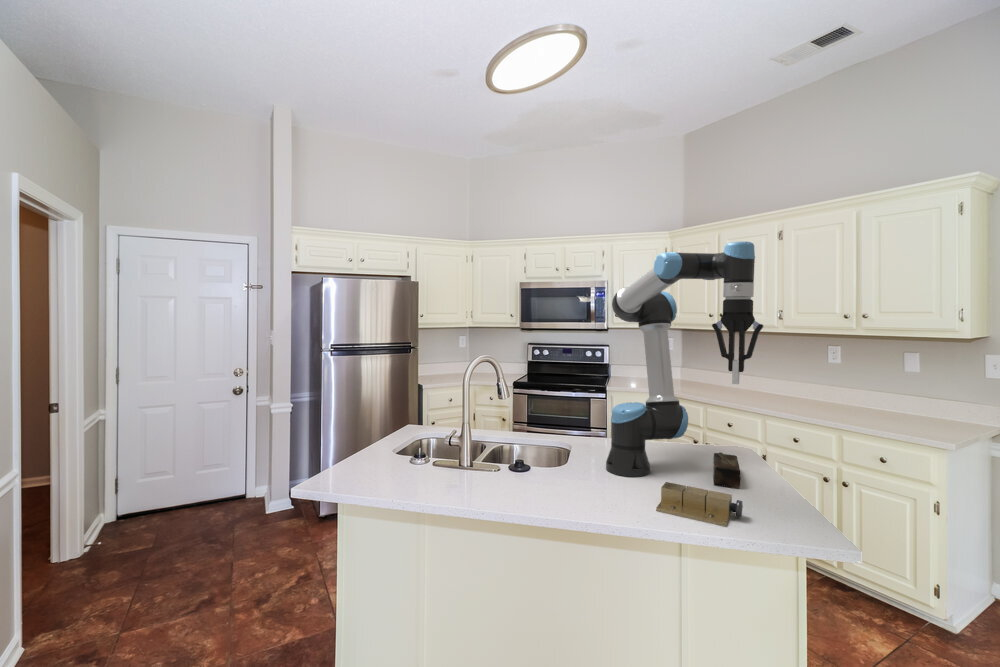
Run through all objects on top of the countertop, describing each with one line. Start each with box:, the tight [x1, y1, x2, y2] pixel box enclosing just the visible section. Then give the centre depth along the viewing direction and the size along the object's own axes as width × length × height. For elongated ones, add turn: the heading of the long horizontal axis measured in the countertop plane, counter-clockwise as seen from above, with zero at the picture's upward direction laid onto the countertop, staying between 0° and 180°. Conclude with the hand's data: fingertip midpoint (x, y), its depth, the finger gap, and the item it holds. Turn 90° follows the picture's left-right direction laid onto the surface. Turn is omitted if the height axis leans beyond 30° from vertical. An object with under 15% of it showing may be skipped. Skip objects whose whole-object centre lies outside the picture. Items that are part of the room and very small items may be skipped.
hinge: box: [655, 481, 733, 527], centre depth 138 cm, size 18×15×5 cm
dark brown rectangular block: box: [712, 452, 741, 490], centre depth 163 cm, size 8×19×7 cm, turn 157°
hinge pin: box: [729, 499, 744, 518], centre depth 137 cm, size 19×4×4 cm, turn 57°
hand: (735, 383), depth 134 cm, fingers closed
